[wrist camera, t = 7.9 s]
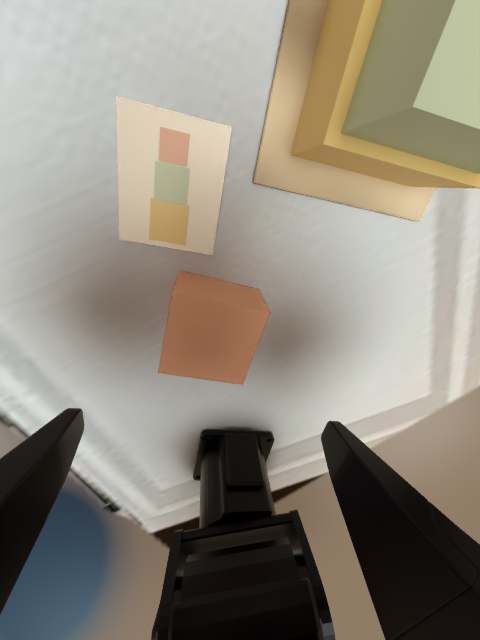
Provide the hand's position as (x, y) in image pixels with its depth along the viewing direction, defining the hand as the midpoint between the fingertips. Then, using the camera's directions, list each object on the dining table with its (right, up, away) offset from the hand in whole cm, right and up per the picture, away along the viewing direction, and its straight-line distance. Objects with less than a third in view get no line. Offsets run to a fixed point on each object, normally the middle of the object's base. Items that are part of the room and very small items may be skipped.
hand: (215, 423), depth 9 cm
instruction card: (-2, +11, +3) cm, 11 cm away
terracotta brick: (-1, +4, +7) cm, 9 cm away
